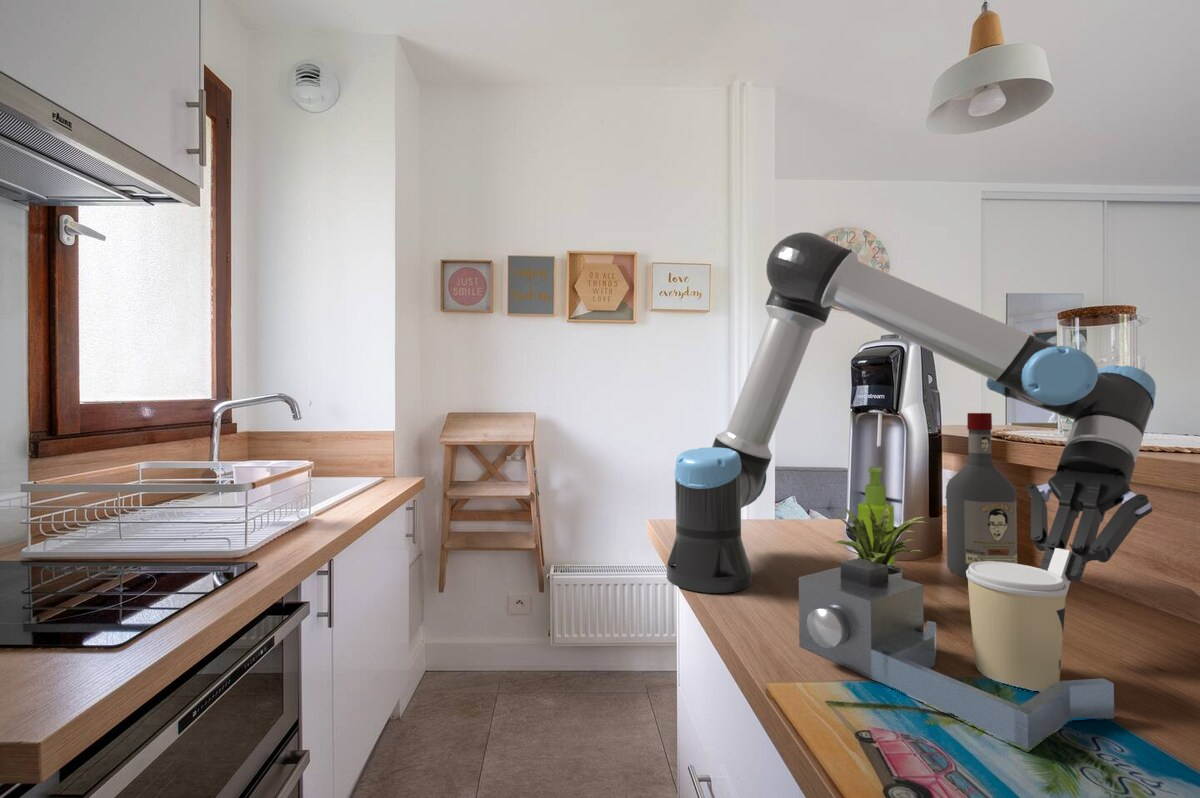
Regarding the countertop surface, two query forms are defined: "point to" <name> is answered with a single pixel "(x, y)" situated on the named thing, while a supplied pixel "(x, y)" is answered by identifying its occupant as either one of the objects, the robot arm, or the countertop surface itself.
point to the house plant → (879, 540)
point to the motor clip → (923, 653)
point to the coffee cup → (1017, 623)
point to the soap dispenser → (875, 506)
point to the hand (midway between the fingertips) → (1051, 598)
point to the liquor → (980, 506)
